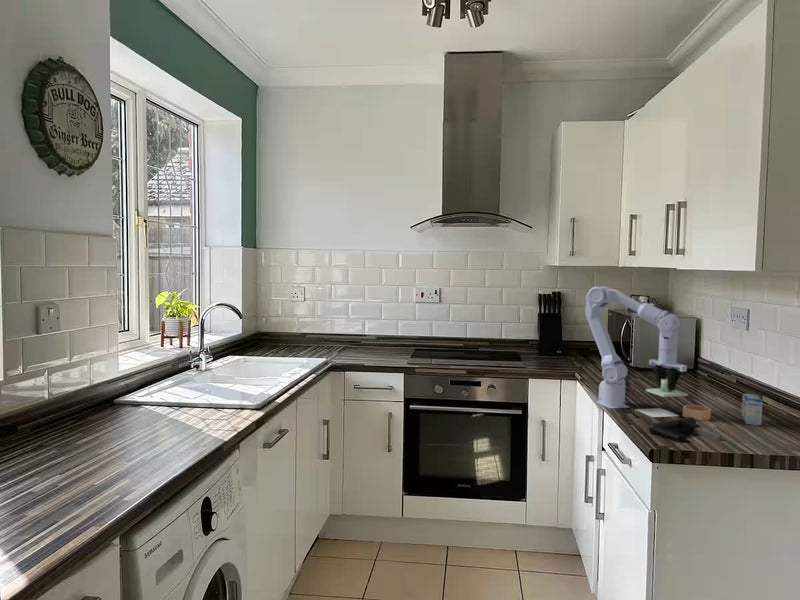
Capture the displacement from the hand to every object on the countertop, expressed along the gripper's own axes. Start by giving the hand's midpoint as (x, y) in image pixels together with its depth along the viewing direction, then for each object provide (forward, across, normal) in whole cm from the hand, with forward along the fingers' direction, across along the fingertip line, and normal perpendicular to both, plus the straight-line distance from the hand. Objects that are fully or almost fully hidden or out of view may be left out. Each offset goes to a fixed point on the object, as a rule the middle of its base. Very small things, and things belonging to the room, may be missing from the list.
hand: (666, 389), depth 196 cm
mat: (+9, -2, -2) cm, 9 cm away
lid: (+2, 0, 0) cm, 2 cm away
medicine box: (+9, +16, +20) cm, 28 cm away
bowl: (+9, +6, +7) cm, 13 cm away
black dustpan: (+10, +20, -11) cm, 25 cm away
